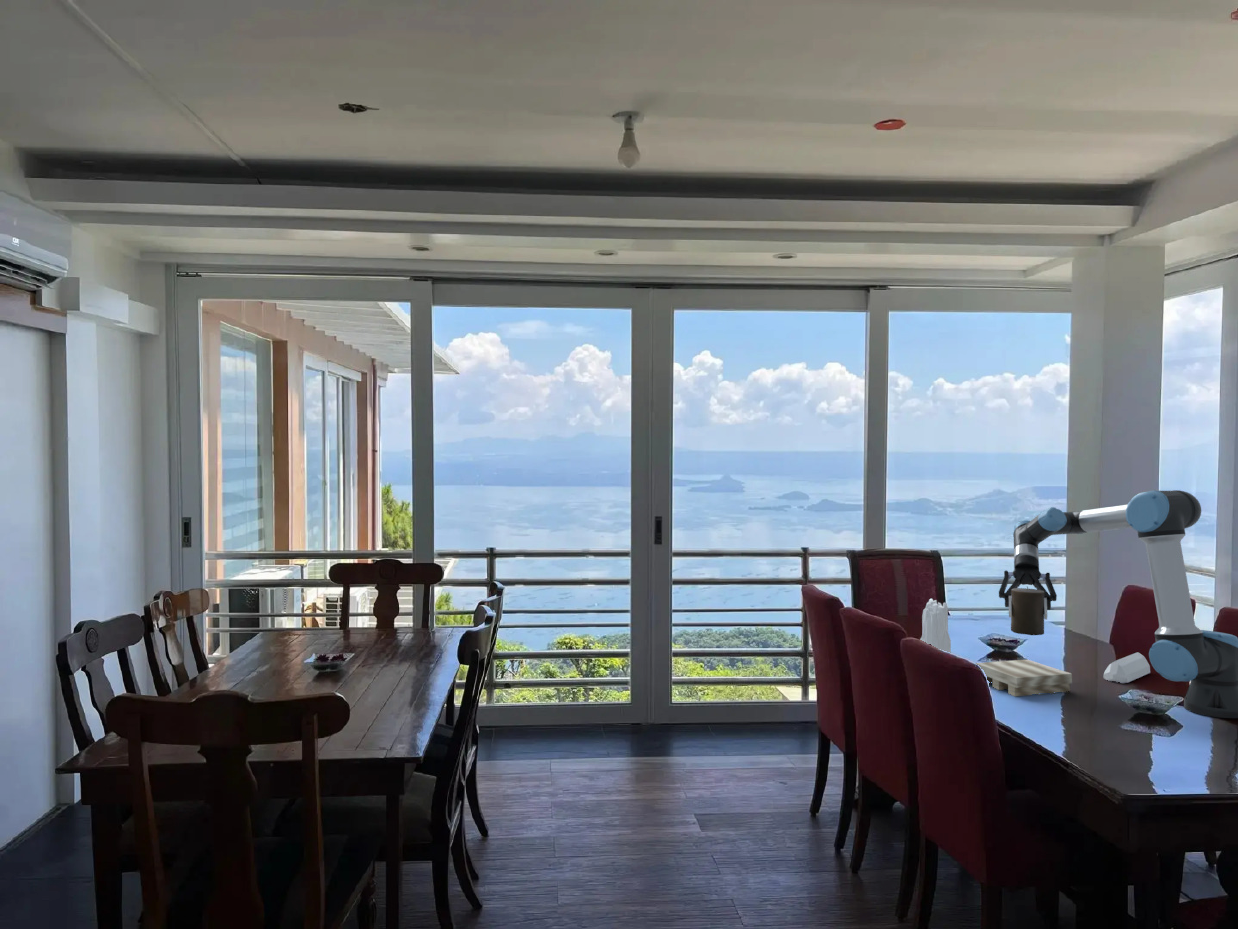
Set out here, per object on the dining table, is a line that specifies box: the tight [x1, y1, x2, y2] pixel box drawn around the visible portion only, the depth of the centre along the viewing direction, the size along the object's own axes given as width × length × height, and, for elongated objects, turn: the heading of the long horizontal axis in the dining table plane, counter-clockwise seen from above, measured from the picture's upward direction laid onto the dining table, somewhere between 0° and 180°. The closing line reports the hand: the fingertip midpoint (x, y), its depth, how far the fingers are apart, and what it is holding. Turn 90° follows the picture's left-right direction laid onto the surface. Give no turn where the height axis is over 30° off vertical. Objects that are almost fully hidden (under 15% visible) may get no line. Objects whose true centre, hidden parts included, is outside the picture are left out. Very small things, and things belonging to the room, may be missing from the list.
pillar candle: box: [1010, 586, 1045, 636], centre depth 269 cm, size 10×10×15 cm
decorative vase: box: [919, 598, 952, 654], centre depth 291 cm, size 11×11×25 cm
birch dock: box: [975, 659, 1073, 697], centre depth 270 cm, size 20×20×6 cm
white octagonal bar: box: [1102, 652, 1151, 684], centre depth 281 cm, size 7×7×24 cm
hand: (1027, 615), depth 267 cm, fingers closed on pillar candle, 10 cm apart
